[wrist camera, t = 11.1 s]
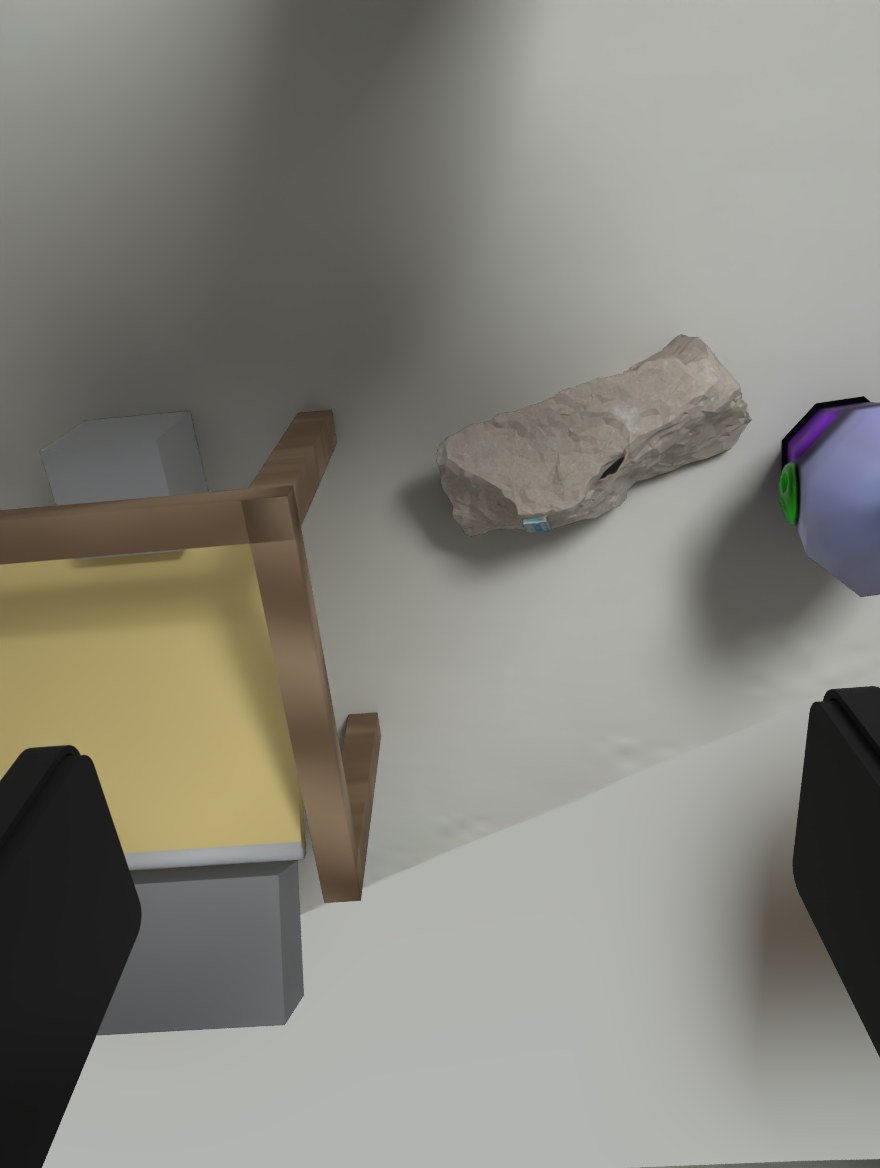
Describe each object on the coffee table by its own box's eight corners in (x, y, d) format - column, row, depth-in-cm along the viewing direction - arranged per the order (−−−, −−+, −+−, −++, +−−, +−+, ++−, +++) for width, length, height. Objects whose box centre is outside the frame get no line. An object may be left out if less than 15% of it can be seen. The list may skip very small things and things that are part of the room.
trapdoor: (27, 567, 42) (-16, 554, 39) (303, 544, 42) (285, 529, 38) (28, 1011, 39) (-18, 1041, 36) (325, 993, 38) (308, 1023, 35)
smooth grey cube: (113, 519, 42) (85, 420, 40) (212, 510, 42) (189, 410, 39) (72, 559, 37) (39, 450, 35) (183, 550, 37) (156, 440, 35)
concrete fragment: (745, 459, 40) (793, 503, 35) (465, 535, 42) (468, 588, 37) (724, 312, 38) (772, 335, 32) (424, 400, 39) (421, 436, 34)
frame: (-53, 445, 40) (-237, 541, 29) (331, 409, 39) (287, 496, 29) (59, 759, 48) (-54, 926, 37) (380, 736, 47) (360, 900, 36)
